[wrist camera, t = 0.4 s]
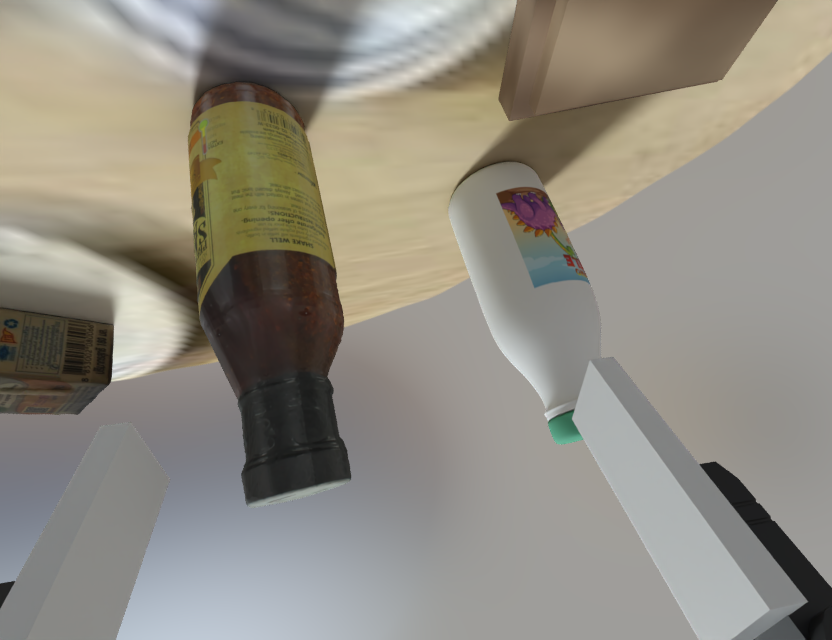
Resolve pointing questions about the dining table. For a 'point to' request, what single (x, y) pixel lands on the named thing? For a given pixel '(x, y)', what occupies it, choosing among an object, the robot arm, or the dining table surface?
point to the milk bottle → (529, 285)
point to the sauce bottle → (268, 287)
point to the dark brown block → (52, 362)
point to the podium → (619, 49)
